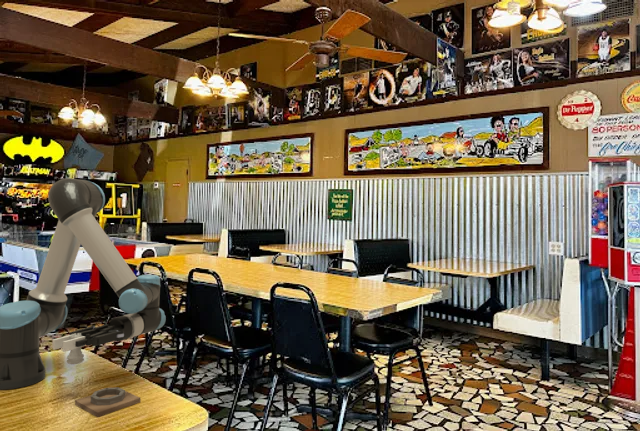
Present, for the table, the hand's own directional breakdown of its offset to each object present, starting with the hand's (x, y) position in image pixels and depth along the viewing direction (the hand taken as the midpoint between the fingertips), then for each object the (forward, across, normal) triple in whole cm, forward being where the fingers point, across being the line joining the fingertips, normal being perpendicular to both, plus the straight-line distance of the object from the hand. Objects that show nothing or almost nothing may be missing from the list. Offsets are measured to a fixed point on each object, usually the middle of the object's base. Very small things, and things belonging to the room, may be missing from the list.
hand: (58, 345), depth 125 cm
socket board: (-5, -13, -15) cm, 21 cm away
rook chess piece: (-5, 0, -6) cm, 8 cm away
